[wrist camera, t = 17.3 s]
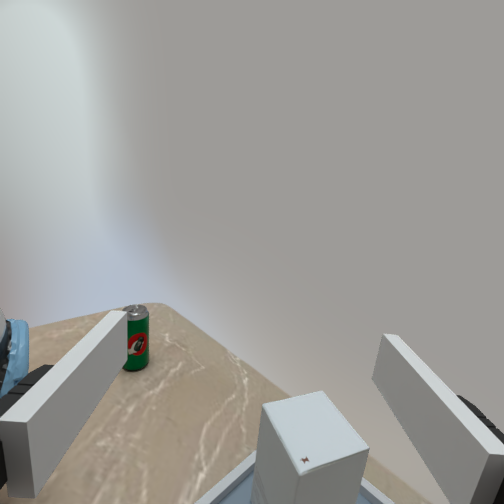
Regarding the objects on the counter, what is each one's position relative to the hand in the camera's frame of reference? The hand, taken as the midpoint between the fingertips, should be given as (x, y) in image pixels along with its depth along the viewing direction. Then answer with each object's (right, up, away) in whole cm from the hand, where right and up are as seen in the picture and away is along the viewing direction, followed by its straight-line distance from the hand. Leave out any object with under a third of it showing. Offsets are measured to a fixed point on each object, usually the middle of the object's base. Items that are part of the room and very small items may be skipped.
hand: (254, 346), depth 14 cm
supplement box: (+4, -23, +15) cm, 28 cm away
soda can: (-24, -18, +42) cm, 51 cm away
